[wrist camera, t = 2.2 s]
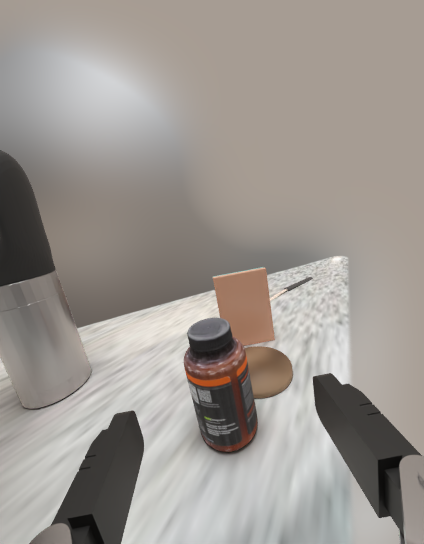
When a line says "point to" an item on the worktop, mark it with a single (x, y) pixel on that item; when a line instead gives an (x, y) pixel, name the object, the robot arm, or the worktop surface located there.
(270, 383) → the coaster
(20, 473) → the worktop surface
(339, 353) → the worktop surface
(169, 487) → the worktop surface
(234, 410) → the supplement bottle
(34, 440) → the worktop surface
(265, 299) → the tile
